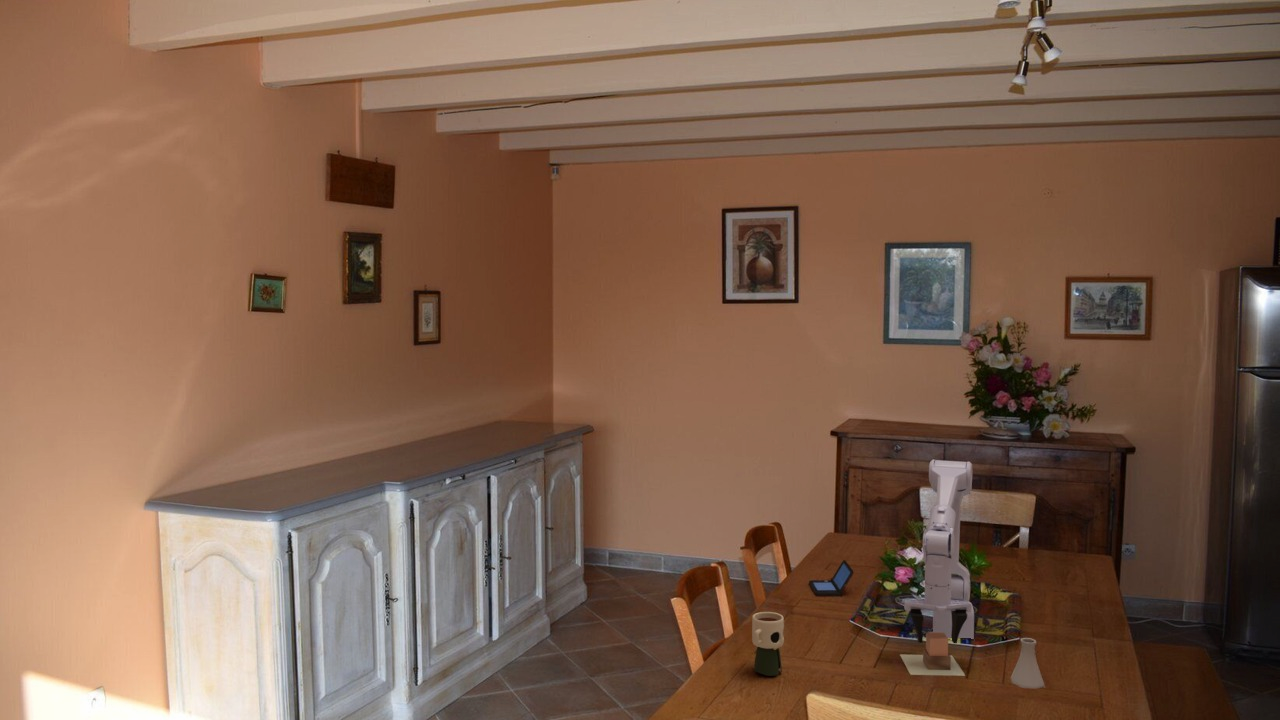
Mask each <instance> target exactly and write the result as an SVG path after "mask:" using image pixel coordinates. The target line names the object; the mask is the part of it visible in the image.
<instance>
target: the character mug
mask: <svg viewBox="0 0 1280 720" xmlns="http://www.w3.org/2000/svg"><path fill="white" fill-rule="evenodd" d="M784 619H785V618H784V616H783V615H782V614H781V613H778V612H774V611H760V612H757V613H754V614H752V617H751V626H752V627H751V630H752V631H751V634H752V635H751V638H752V639H751V640H752V645H754V646H756V647H757V648H756V651H755V656H754V665H753V670H754V672H755V673H758V674H761V675H764V676H772V677H773V676H777V675H780V673H783V672H782V671H783V670H782V659H781V658H782V657H781V651H780V648H781V647H783V645H784V643H785V638H784V628H785V620H784ZM779 670H780V672H779Z"/></svg>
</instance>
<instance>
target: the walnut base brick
mask: <svg viewBox="0 0 1280 720" xmlns="http://www.w3.org/2000/svg"><path fill="white" fill-rule="evenodd" d="M922 655H923V662H924V664H925V665H926V667H927V669H928V670H951V657H950V654H949V653H948V656H930V655H929V654H928V652H927V650H926V648H922Z"/></svg>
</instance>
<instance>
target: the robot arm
mask: <svg viewBox="0 0 1280 720" xmlns="http://www.w3.org/2000/svg"><path fill="white" fill-rule="evenodd" d="M928 480H929V485H930V487H931V489H932V491H933V492H935V493H936V505H935V506H933V507H932V508H931V509H930V513H929V517H928V524H927V529H926V531H924V533H923V536H922V553H923V563H924V598H920V599H905V600H903V601H904V605H903V606H904V607H903V609H904V611H905V612H908V613H909V615H910V618H911V619H912V621H913V625H914V628H915V632H916V637H917V639H916V640H917V641H918V643H919V644H921V643H923V641H924V640H923V639H924V638H923V625H924V624H923V623H924V615H923V612H922V611H932V629H933V632H936V633H945V635H946V636H947V638H952V640H951V642H952V643H953V644H957V643H958V638H971V639H974V638H975V637H974V635H975V633H974V632H975V611H974V606H973V604H972V601H971V602H970V595H971V573H970V571H969V569H968V568H967V567H965V566H964V565H963V564H962V563H961V562H960V561H959V560H960V537H961V535H960V534H961V531H960V530H961V512H962V511H961V505H962V501H963V499H964V497H965V496H968V495H971V492H972V490H973V488H972V487H973V485H972V483H973V463H971V461H959V460H958V461H957V460H956V461H955V460H940V459H932V460H931V461H930V462H929V466H928ZM974 640H975V639H974Z"/></svg>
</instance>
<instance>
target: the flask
mask: <svg viewBox="0 0 1280 720" xmlns="http://www.w3.org/2000/svg"><path fill="white" fill-rule="evenodd" d="M1019 641H1020V643H1021V649H1020V654H1019V657H1018V659H1017V661H1016V662H1017V663H1016V664H1015V667H1014V669H1013V672H1012V674H1011V676H1010V681H1011V684H1013V685H1015V686H1017V687H1019V688H1021V689H1023V688H1024V689H1033V690H1037V689H1041V688H1043V689H1046V686H1045V685H1046V684H1045V682H1044V679H1043V677H1042V674H1041V671H1040V667H1039V665H1038V662H1037V656H1036V650H1035V649H1036V645H1037V640H1036V639H1034V638H1031V637H1022V638H1020V639H1019Z"/></svg>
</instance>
